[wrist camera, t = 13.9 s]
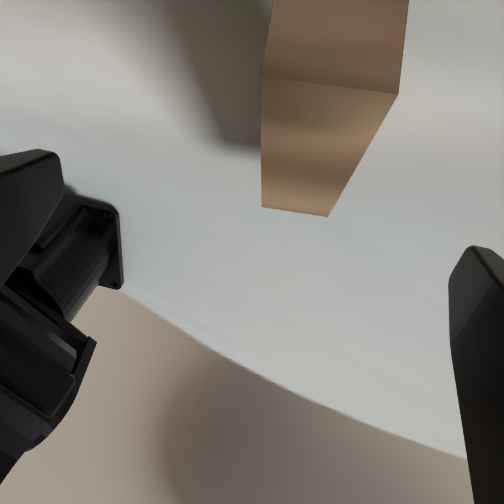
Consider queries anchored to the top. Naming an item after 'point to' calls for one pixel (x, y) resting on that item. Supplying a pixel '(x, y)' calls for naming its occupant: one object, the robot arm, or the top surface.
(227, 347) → the top surface
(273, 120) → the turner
